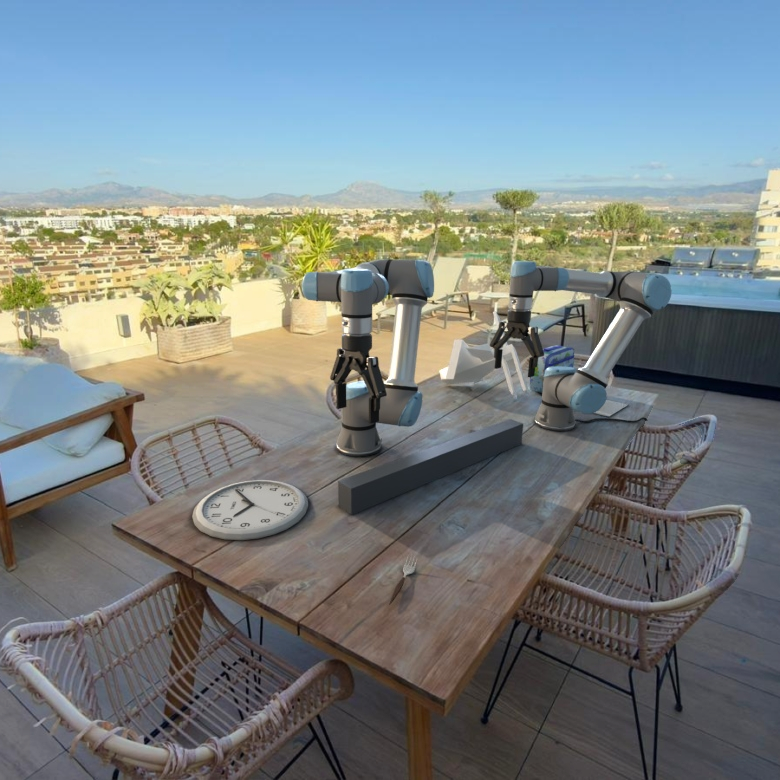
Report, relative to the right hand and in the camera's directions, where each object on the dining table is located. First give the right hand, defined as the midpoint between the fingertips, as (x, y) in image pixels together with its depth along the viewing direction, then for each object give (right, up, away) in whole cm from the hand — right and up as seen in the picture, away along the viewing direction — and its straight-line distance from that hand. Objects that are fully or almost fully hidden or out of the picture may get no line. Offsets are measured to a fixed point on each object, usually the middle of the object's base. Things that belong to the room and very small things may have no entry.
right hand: (513, 372), depth 177 cm
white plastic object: (0, -7, +66) cm, 66 cm away
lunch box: (+34, -6, +71) cm, 79 cm away
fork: (-40, -48, -65) cm, 90 cm away
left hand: (-51, -12, -43) cm, 67 cm away
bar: (-26, -31, -13) cm, 43 cm away
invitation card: (+49, -13, +49) cm, 71 cm away
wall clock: (-79, -38, -37) cm, 95 cm away
